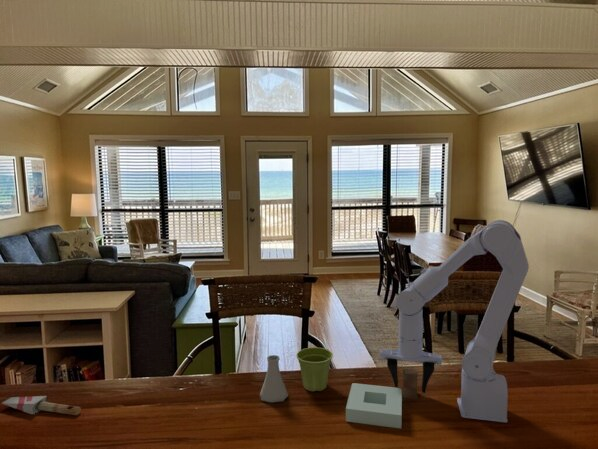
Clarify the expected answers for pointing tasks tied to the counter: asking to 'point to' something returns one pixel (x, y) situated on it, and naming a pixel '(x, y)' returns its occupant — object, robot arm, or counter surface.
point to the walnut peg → (410, 383)
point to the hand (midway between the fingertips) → (409, 389)
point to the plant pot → (314, 367)
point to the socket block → (375, 405)
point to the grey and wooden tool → (39, 405)
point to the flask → (273, 382)
